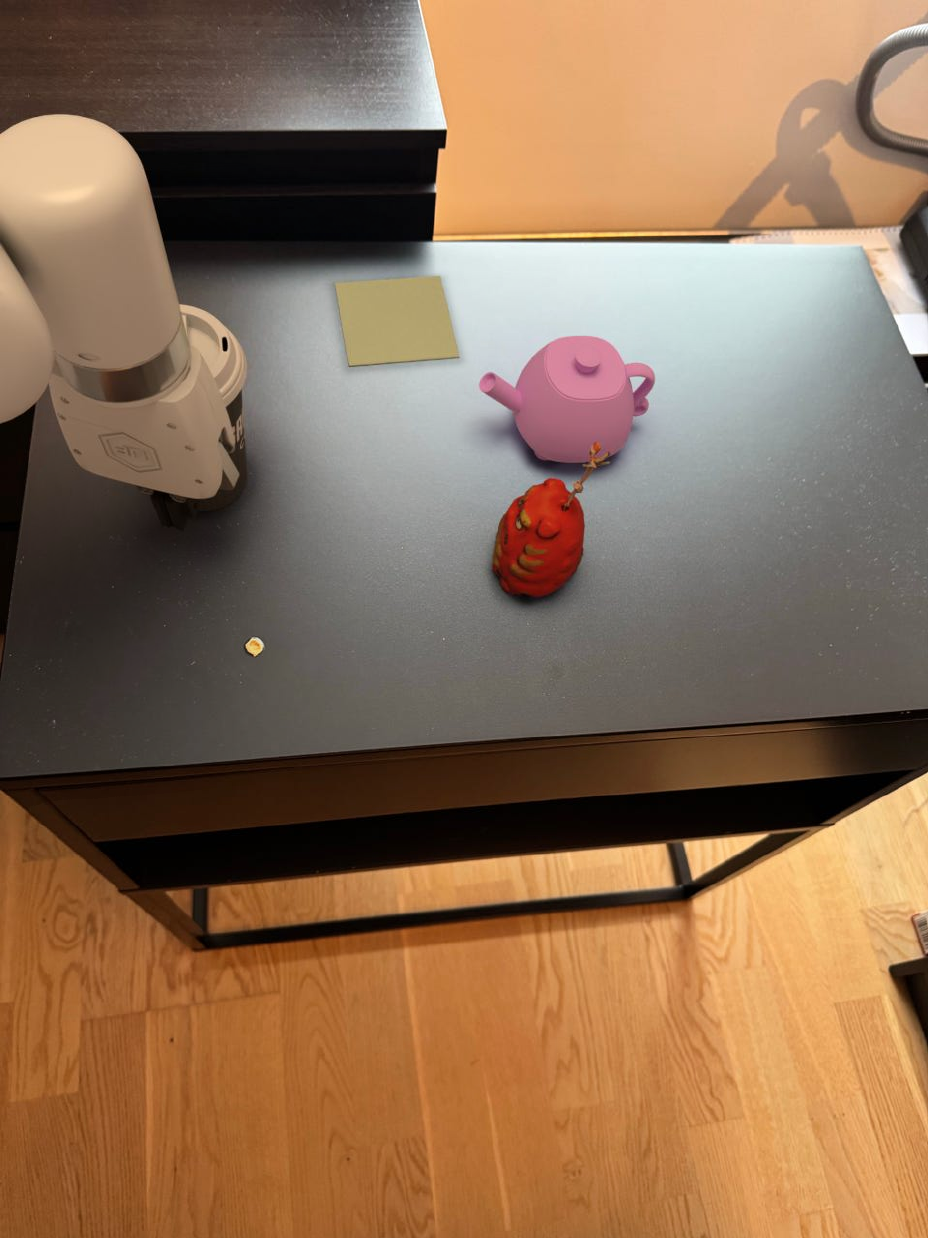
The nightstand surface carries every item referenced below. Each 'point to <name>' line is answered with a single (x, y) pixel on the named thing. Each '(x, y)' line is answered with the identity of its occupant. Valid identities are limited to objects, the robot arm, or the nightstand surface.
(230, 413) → the coffee cup
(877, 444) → the nightstand surface
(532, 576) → the red clay folk toy
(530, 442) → the teapot
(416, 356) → the mat
